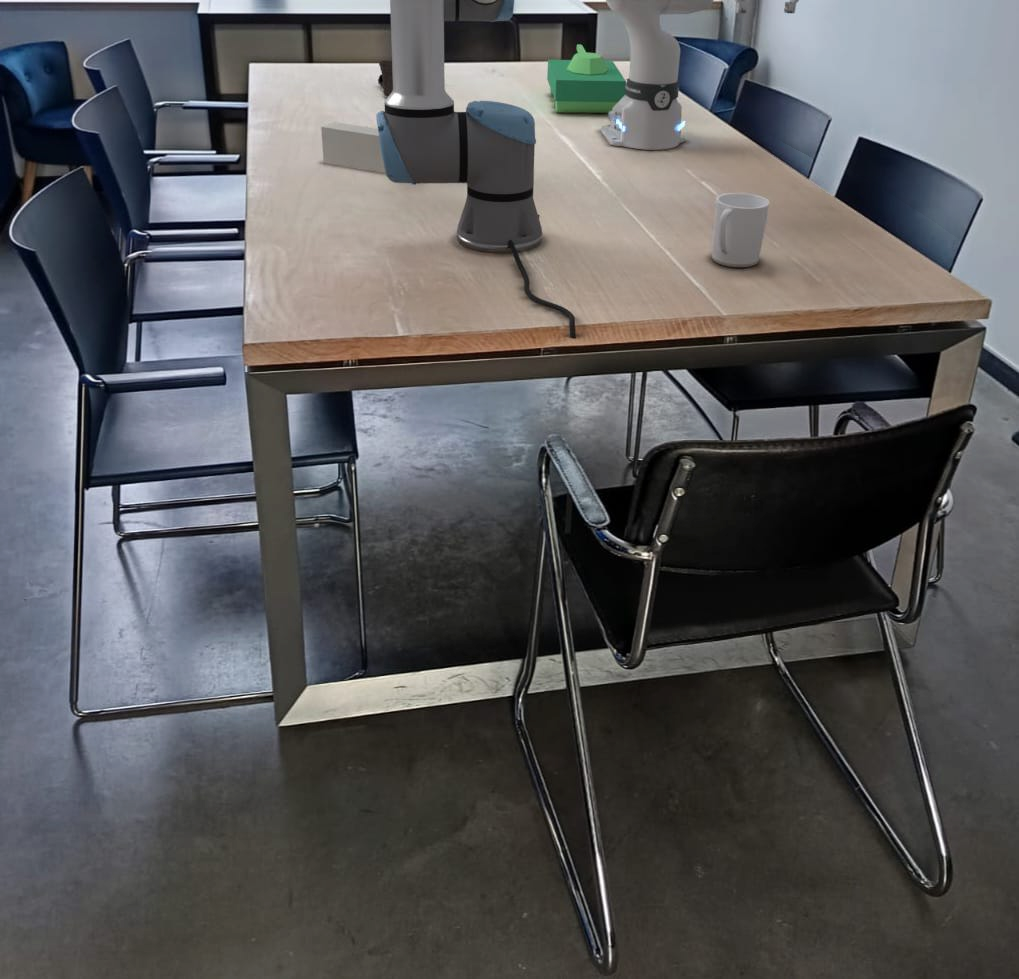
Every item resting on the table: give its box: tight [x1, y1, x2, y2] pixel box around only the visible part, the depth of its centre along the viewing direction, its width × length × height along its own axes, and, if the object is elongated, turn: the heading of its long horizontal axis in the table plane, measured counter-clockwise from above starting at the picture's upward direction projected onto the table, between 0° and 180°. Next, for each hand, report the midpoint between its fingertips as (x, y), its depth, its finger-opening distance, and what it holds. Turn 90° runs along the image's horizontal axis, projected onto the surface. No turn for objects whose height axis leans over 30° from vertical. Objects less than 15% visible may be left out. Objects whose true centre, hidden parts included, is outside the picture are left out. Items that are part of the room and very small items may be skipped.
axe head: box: [377, 59, 393, 98], centre depth 299 cm, size 18×8×15 cm
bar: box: [320, 121, 386, 174], centre depth 233 cm, size 26×5×8 cm, turn 64°
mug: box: [711, 192, 770, 268], centre depth 186 cm, size 11×9×10 cm
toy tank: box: [546, 44, 627, 114], centre depth 291 cm, size 18×12×35 cm
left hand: (417, 162), depth 230 cm, fingers open, 6 cm apart
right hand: (764, 12), depth 203 cm, fingers open, 8 cm apart
